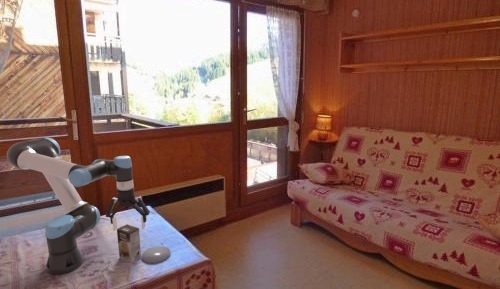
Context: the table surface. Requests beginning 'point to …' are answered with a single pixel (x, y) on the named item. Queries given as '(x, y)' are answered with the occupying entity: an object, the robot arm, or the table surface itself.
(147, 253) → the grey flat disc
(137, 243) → the coffee box
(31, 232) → the table surface
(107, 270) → the table surface
